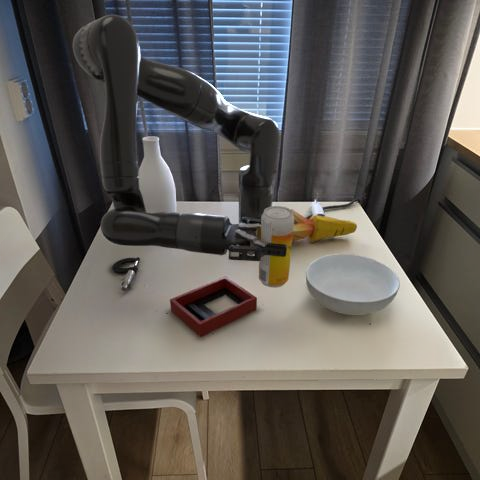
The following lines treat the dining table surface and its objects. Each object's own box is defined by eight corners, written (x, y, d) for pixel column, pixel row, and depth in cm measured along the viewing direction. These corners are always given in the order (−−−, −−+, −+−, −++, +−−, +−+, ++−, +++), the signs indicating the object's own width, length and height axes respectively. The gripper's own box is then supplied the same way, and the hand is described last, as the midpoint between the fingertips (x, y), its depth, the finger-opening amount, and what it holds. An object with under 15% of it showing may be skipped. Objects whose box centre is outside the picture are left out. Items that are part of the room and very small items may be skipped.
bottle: (134, 226, 136) (120, 139, 121) (159, 214, 143) (150, 130, 128) (161, 236, 131) (151, 146, 116) (186, 222, 138) (179, 136, 123)
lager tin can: (294, 280, 92) (301, 211, 83) (275, 292, 88) (280, 222, 79) (271, 269, 95) (276, 202, 86) (252, 280, 91) (254, 211, 82)
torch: (350, 249, 133) (269, 246, 127) (345, 227, 136) (266, 224, 130) (363, 233, 125) (277, 229, 120) (357, 210, 129) (273, 205, 123)
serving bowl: (409, 322, 99) (417, 297, 95) (318, 332, 96) (321, 306, 92) (372, 273, 115) (377, 249, 111) (293, 280, 112) (295, 256, 108)
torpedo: (329, 232, 134) (332, 211, 130) (313, 231, 134) (316, 211, 130) (321, 207, 148) (323, 188, 144) (306, 207, 148) (308, 187, 144)
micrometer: (116, 260, 120) (115, 252, 118) (143, 261, 120) (141, 253, 118) (99, 291, 108) (97, 283, 106) (129, 293, 108) (127, 284, 106)
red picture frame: (225, 288, 109) (225, 276, 107) (256, 310, 102) (257, 297, 100) (171, 312, 102) (169, 299, 99) (200, 337, 94) (199, 324, 92)
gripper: (192, 232, 80) (285, 242, 78) (212, 201, 91) (294, 208, 89) (194, 268, 85) (282, 279, 82) (213, 234, 96) (291, 242, 94)
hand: (288, 242), depth 86 cm, fingers closed on lager tin can, 6 cm apart
